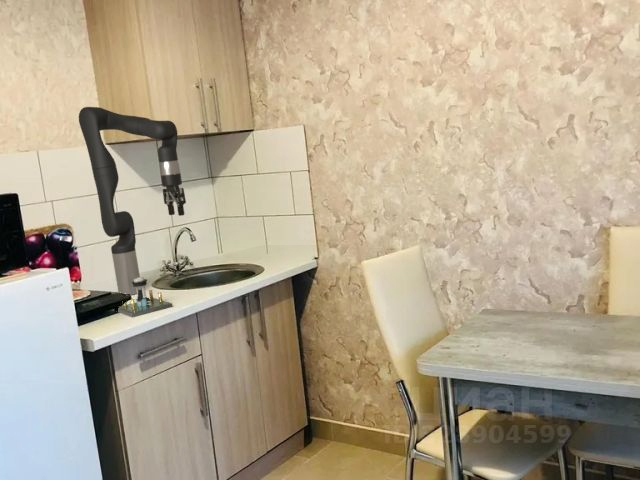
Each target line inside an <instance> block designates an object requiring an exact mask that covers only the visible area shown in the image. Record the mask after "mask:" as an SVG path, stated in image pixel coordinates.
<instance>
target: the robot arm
mask: <svg viewBox="0 0 640 480" xmlns="http://www.w3.org/2000/svg"><path fill="white" fill-rule="evenodd" d="M78 122H79V127H80V130H81V133H82V136H83V138H84V141H85V145H86V149H87V154H88V156H89V160H90V166H91V170H92V175H93V179H94V184H95V187H96V192H97V197H98V203H99V209H100V219H101V224H102V228H103V231H104V233H105V235H107V237H111V238H114V237H118V240H117V241H116V242H115V243H114V244H113V245H111V249H110V250H111V256H112V262H113V267H114V274H115V280H116V286H117V292H121V293H126V294H130V295H129V296H131V295H137V290H136V287H133V284H132V282H133V281H134V279H135V278H139V277H141V275H140V269H139V262H138V257H137V251H136V244H137V243H136V242H137V241H136V240H137V239H136V231H135V223H134V219H133V217H132V214H131V213H130V212H128V211H126V210H123V211H117V212H116V211H115V206H114V199H115V194H116V191H117V188H118V185H119V179H120V178H119V172H118V168H117V164H116V161H115V159H114V157H113V156H112V154H111V153H110V151H109V149H107V147H106V145H105V143H104V140H103V139H102V135H101V131H106V130H107V131H111V130H112V131H114V130H116V131H121V132H124V133H127V134H131V135H135V136H141V137H146V138H151V139H153V140H158V141H159V140H160V141H161V146H159V147H158V149H157V155H158V162H159V172H160V173H159V174H160V181H161V185H162V187H164V188H163V189H162V197H163V203H164V205H166V206H167V212H168V215H169V216H173V215H175V213H176V211H175V206H174V202H175V203H176V206H177V208H176V209H177V214H178V216H179V217H180V216H181V217H182V216H184V215H185V209H184V208H185V207H184V205H185V204H187V200H186V195H185V190H184V187H180V185H182V184H183V182H182V181H183V180H182V176H181V175H182V174H181V173H182V172H181V168H180V163H179V157H178V152H177V147H178V129H177V126H176V124H175V123H174V122H173V121H171V120H155V119H154V120H153V119H151V118H147V117H143V116H135V115H128V114H127V115H126V114H120V113H117V112H113V111H110V110H108V109H105V108H103V107H98V106H84V107H83V108H81V109H80V111H79V113H78Z"/></svg>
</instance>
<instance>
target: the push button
mask: <svg viewBox="0 0 640 480" xmlns="http://www.w3.org/2000/svg"><path fill="white" fill-rule="evenodd" d="M147 282H148V279H146V278H145V277H144V276H140V277H139V278H135V279H134V281H133V282H132V284H133V287H136V290H137V294H136V295H137V296H136V297H137V298H135V300H136V302H137V306H148V305H151V304H149V302H151V301H150V297H147V292H146V288H145V287H146V286H147V284H148V283H147ZM136 302H135V303H136Z"/></svg>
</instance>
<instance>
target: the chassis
mask: <svg viewBox="0 0 640 480" xmlns="http://www.w3.org/2000/svg"><path fill="white" fill-rule="evenodd" d="M153 292H154V291H153V289H150V290H148V294H149V299H150V301H151V302H149V304H151V305H148V306H137V302H135V299H134V298H133V299H130V303H129V304H127V303H128V302H127V301H126V302H125V303H124V304H123V303H122V306H121V305H120V306H121V307H120V306H118V307H119V308H118V312H117V313H119V314H122V315H125V316H128V317H131V318H135V317H140V316H142V315H147V314H151V313H154V312H158V311H162V310H166V309H169V308H173V303H172V302H169V301H166V300H163V295H162V292H157V295H158V298H156V297H154V294H153Z"/></svg>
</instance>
